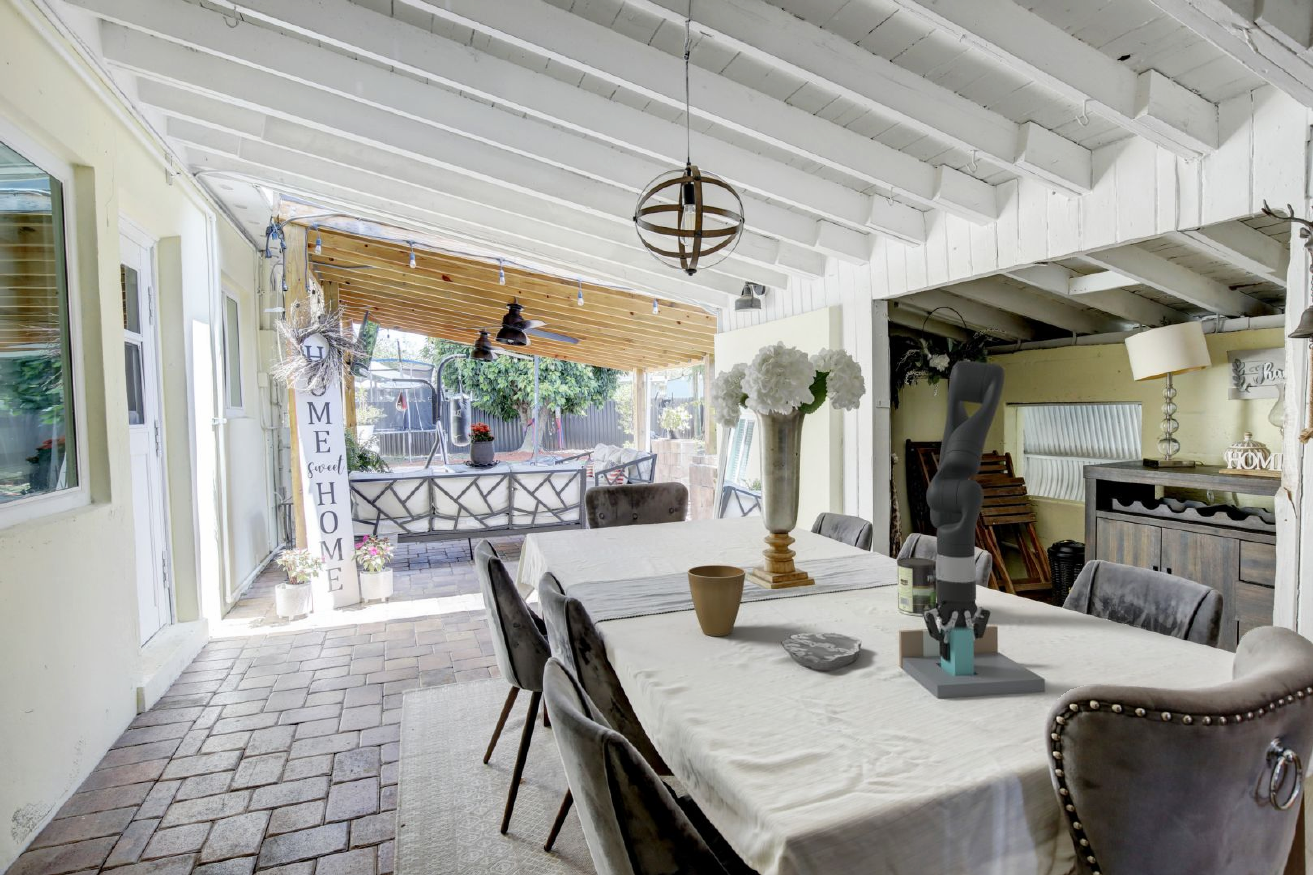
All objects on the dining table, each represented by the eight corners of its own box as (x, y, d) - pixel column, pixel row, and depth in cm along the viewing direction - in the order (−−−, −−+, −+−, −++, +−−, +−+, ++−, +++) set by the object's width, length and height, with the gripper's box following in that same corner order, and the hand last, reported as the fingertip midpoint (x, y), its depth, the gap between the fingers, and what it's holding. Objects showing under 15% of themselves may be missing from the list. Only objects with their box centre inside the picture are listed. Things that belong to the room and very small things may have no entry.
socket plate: (899, 666, 146) (898, 630, 145) (995, 661, 147) (994, 625, 147) (937, 698, 129) (937, 657, 129) (1044, 691, 131) (1044, 651, 131)
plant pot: (744, 642, 163) (743, 578, 163) (684, 640, 166) (683, 576, 166) (748, 624, 178) (747, 564, 177) (693, 621, 181) (692, 563, 180)
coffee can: (941, 609, 187) (940, 559, 186) (931, 618, 179) (930, 566, 178) (903, 603, 193) (903, 555, 193) (892, 612, 185) (891, 562, 184)
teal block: (941, 669, 140) (940, 622, 139) (959, 668, 140) (958, 621, 140) (955, 680, 134) (954, 631, 134) (974, 679, 134) (973, 630, 134)
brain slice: (805, 639, 166) (805, 627, 166) (872, 653, 155) (872, 640, 155) (765, 662, 151) (765, 649, 151) (836, 680, 140) (836, 666, 140)
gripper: (978, 570, 141) (979, 650, 141) (913, 573, 140) (914, 654, 140) (999, 579, 133) (1000, 663, 134) (931, 582, 132) (932, 667, 133)
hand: (956, 658), depth 137 cm, fingers closed on teal block, 4 cm apart
